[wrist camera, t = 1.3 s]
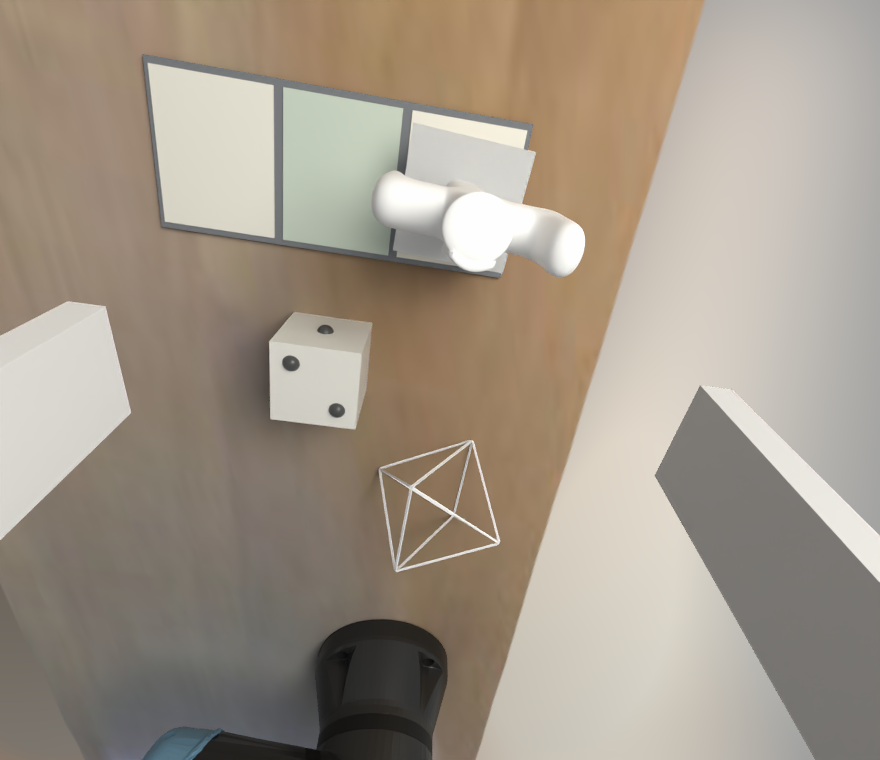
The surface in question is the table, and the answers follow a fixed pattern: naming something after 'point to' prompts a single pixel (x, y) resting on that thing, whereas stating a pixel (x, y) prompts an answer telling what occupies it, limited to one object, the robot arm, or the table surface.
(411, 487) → the geometric polyhedron
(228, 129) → the game mat
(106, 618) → the table surface
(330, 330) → the die
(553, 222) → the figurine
